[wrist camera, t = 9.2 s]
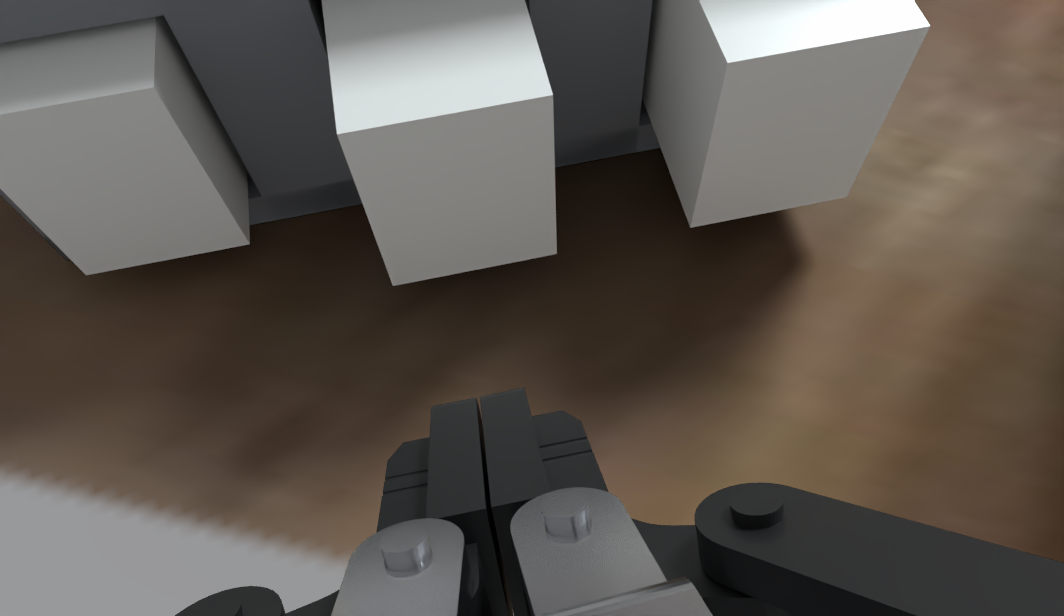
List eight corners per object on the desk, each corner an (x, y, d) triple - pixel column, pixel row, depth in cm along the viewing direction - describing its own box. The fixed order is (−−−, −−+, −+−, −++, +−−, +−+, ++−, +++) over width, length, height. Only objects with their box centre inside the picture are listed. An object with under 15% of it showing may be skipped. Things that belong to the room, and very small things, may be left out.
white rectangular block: (249, 244, 30) (153, 87, 23) (86, 275, 30) (-62, 125, 23) (243, 72, 34) (160, -102, 27) (100, 97, 34) (-21, -74, 27)
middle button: (556, 253, 29) (553, 94, 22) (392, 286, 29) (336, 134, 22) (509, 77, 34) (494, -102, 27) (367, 103, 33) (313, -72, 26)
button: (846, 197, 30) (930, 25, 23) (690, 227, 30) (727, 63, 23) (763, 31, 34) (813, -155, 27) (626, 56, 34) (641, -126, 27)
